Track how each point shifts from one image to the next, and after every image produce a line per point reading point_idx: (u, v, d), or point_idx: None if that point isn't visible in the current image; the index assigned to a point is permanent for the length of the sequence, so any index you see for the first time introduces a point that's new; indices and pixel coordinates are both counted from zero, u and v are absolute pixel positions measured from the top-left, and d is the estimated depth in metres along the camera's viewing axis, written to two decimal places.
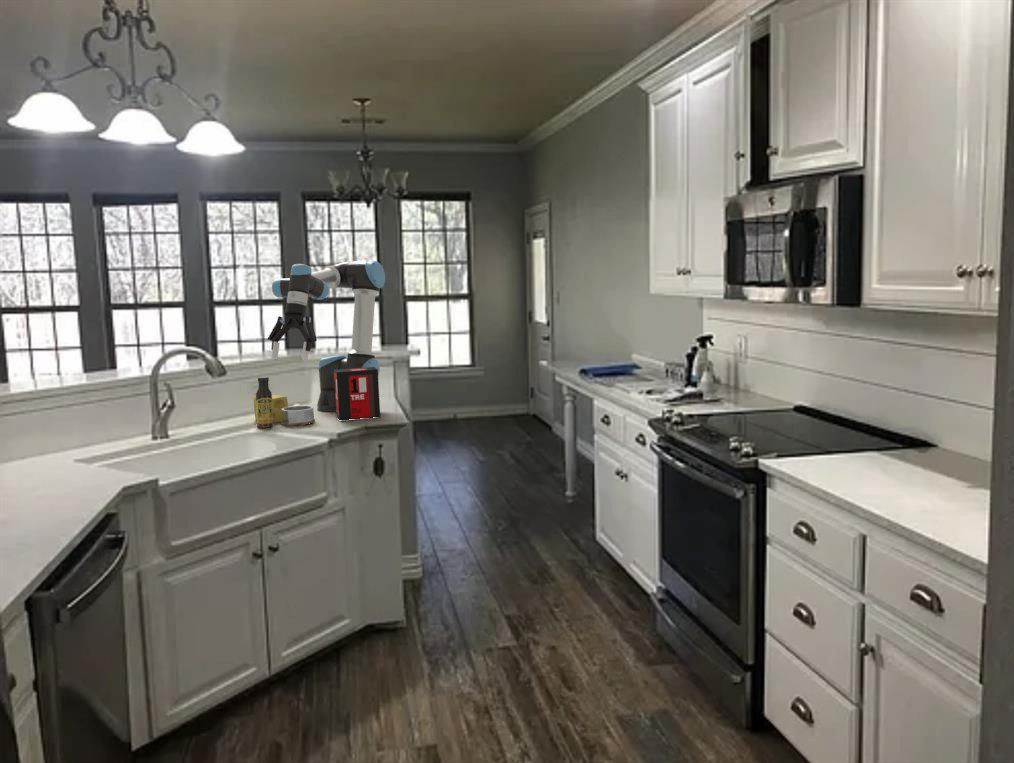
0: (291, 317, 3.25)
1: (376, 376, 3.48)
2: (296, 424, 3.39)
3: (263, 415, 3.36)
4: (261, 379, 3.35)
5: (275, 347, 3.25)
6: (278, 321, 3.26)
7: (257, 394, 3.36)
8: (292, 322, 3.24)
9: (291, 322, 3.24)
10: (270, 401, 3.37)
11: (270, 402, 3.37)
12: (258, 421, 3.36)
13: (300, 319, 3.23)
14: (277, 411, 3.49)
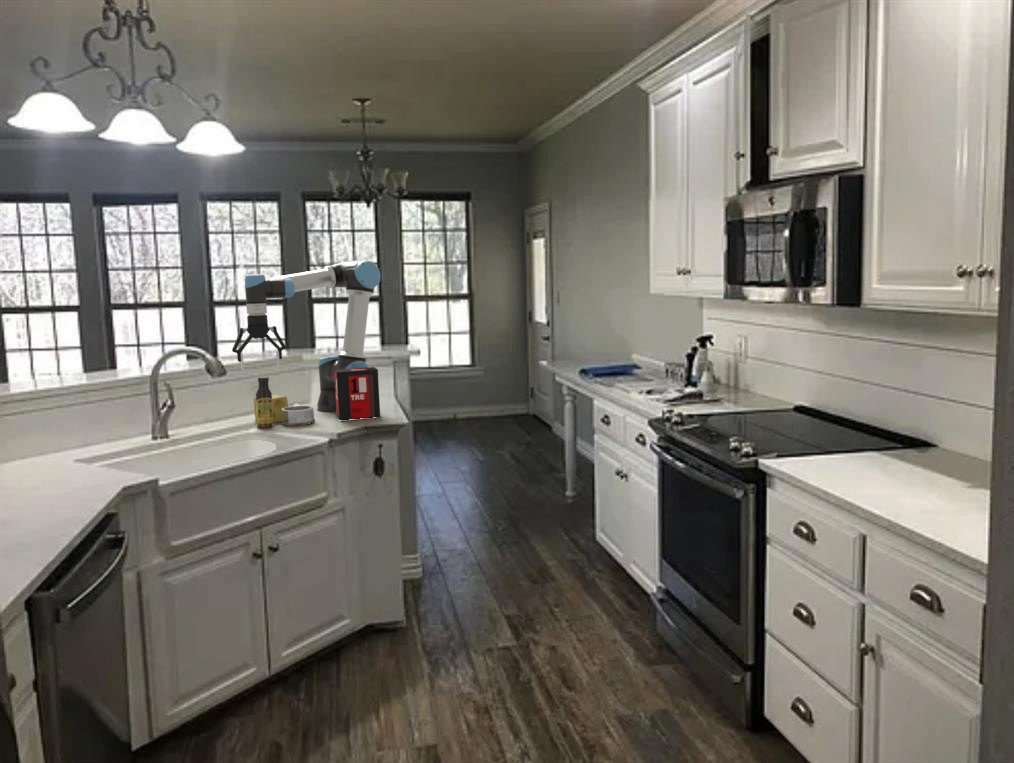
0: (256, 328, 3.32)
1: (376, 376, 3.48)
2: (296, 424, 3.39)
3: (263, 415, 3.36)
4: (261, 379, 3.35)
5: (242, 358, 3.32)
6: (241, 333, 3.30)
7: (257, 394, 3.36)
8: (258, 333, 3.33)
9: (257, 333, 3.33)
10: (270, 401, 3.37)
11: (270, 402, 3.37)
12: (258, 421, 3.36)
13: (267, 329, 3.34)
14: (277, 411, 3.49)
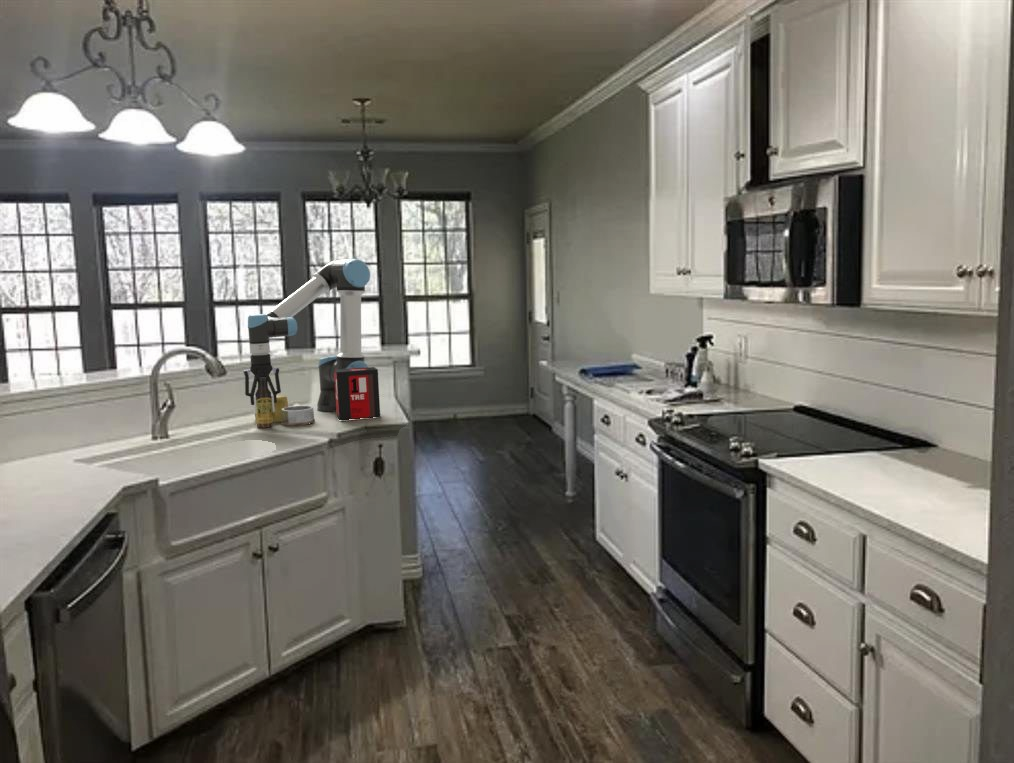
0: (258, 365, 3.34)
1: (376, 376, 3.48)
2: (296, 424, 3.39)
3: (263, 415, 3.36)
4: (260, 379, 3.35)
5: None
6: (247, 375, 3.33)
7: (256, 394, 3.36)
8: (261, 372, 3.35)
9: (260, 372, 3.35)
10: (270, 401, 3.37)
11: (270, 402, 3.37)
12: (258, 421, 3.36)
13: (270, 369, 3.36)
14: (277, 411, 3.49)
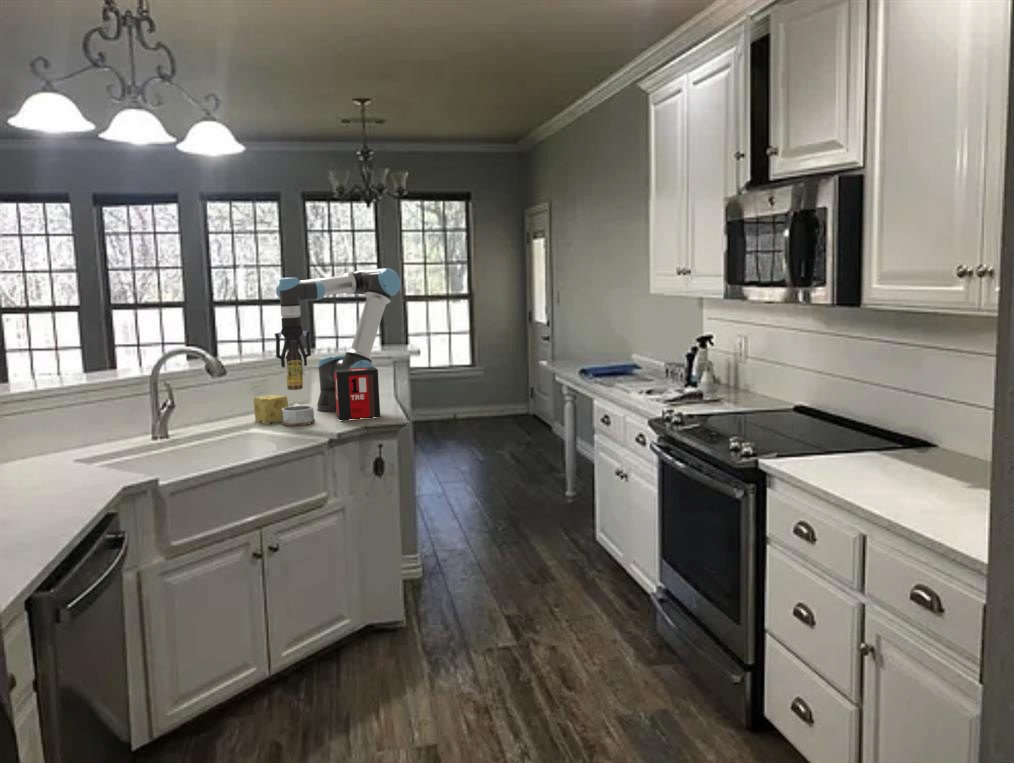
0: (289, 328, 3.38)
1: (376, 376, 3.48)
2: (296, 424, 3.39)
3: (294, 377, 3.39)
4: (291, 341, 3.39)
5: (286, 364, 3.40)
6: (278, 338, 3.37)
7: (287, 356, 3.40)
8: (292, 335, 3.39)
9: (291, 335, 3.39)
10: (300, 363, 3.41)
11: (300, 364, 3.41)
12: (288, 383, 3.40)
13: (300, 332, 3.40)
14: (277, 411, 3.49)
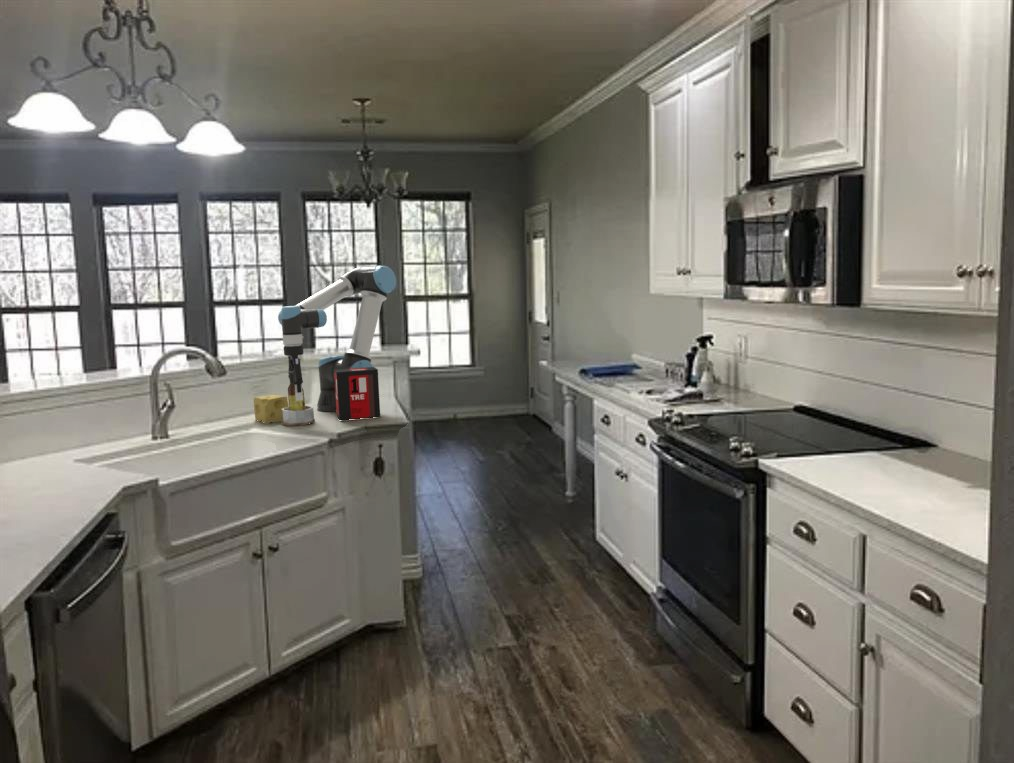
0: None
1: (376, 376, 3.48)
2: (296, 424, 3.39)
3: None
4: None
5: None
6: None
7: None
8: None
9: None
10: None
11: None
12: None
13: None
14: (277, 411, 3.49)
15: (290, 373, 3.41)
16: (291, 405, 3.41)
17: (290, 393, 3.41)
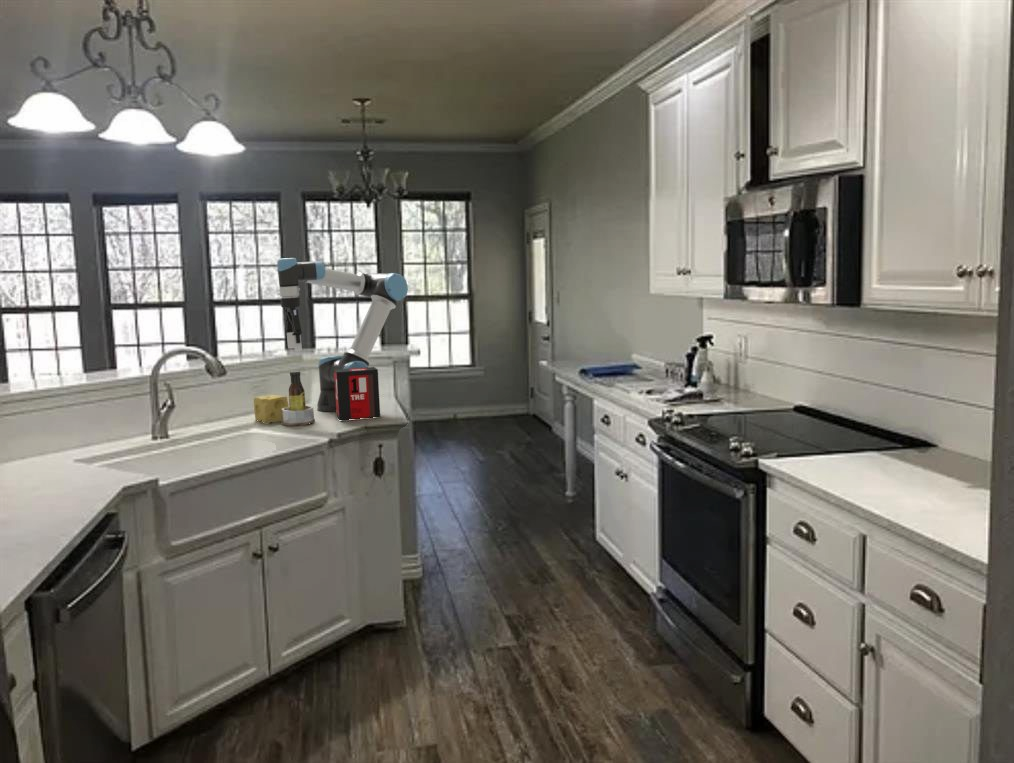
0: None
1: (376, 376, 3.48)
2: (296, 424, 3.39)
3: (305, 407, 3.45)
4: None
5: None
6: None
7: (299, 388, 3.41)
8: None
9: None
10: None
11: None
12: None
13: None
14: (277, 411, 3.49)
15: (291, 373, 3.41)
16: (291, 405, 3.41)
17: (291, 393, 3.41)
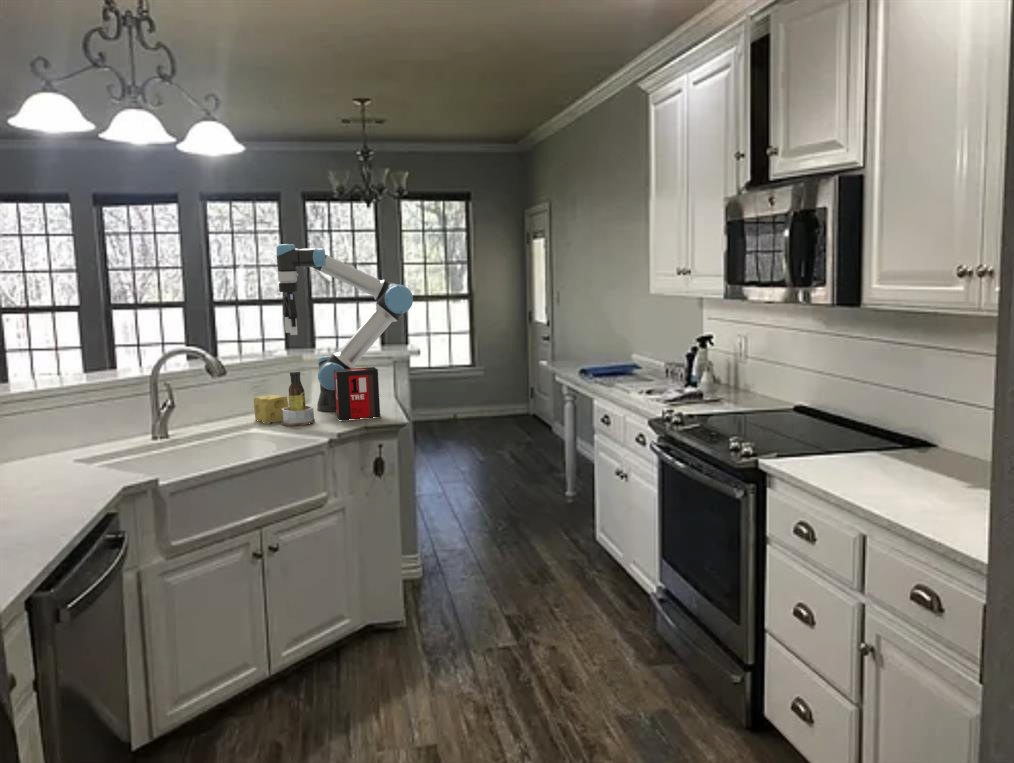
0: None
1: (376, 376, 3.48)
2: (296, 424, 3.39)
3: (305, 407, 3.45)
4: (299, 373, 3.42)
5: None
6: None
7: (298, 388, 3.41)
8: None
9: None
10: None
11: None
12: None
13: None
14: (277, 411, 3.49)
15: (291, 373, 3.41)
16: (291, 405, 3.41)
17: (291, 393, 3.41)
